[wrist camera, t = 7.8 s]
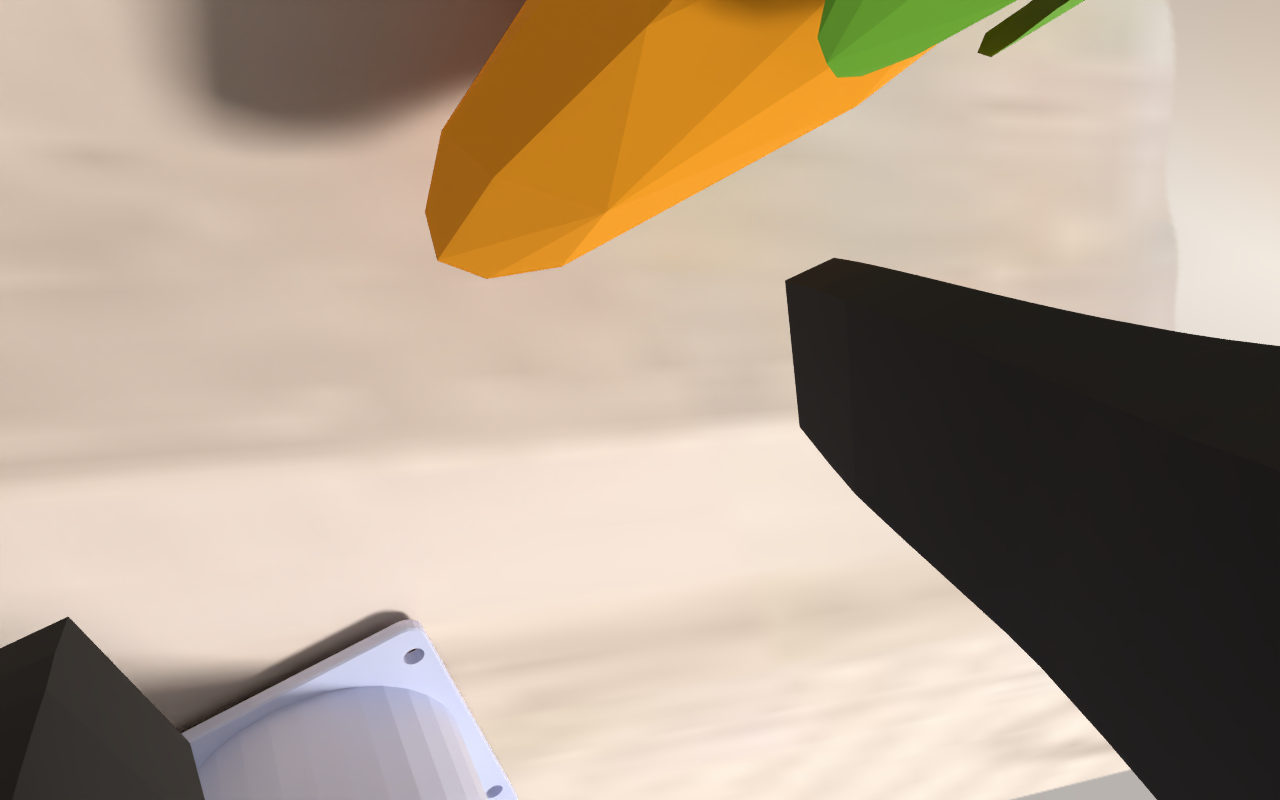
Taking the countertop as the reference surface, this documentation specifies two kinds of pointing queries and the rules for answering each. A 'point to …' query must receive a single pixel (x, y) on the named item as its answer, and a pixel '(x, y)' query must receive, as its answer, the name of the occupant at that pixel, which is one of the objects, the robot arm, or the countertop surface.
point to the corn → (659, 109)
